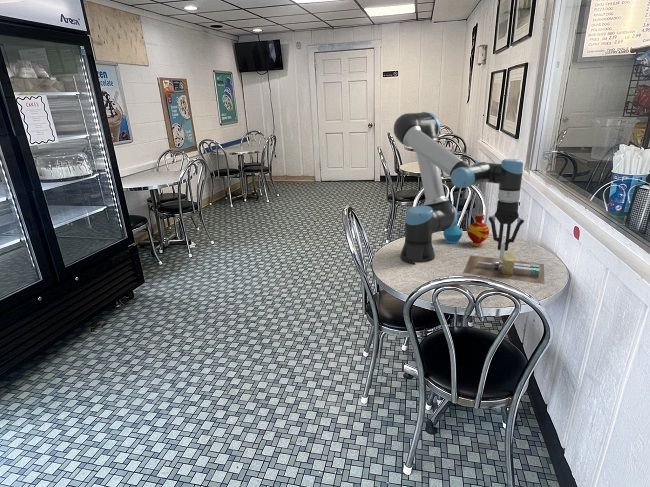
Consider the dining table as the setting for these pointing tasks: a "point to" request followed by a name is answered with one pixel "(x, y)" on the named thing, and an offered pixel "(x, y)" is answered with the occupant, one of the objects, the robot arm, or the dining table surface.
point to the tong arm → (517, 264)
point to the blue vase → (453, 233)
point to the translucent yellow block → (508, 263)
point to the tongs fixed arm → (515, 271)
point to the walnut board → (473, 269)
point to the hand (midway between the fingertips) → (501, 257)
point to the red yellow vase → (478, 231)
